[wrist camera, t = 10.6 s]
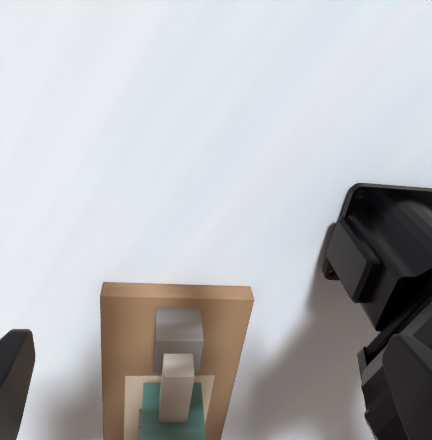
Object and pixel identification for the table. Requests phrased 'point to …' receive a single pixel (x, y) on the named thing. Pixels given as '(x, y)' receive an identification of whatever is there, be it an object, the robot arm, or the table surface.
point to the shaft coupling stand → (170, 358)
